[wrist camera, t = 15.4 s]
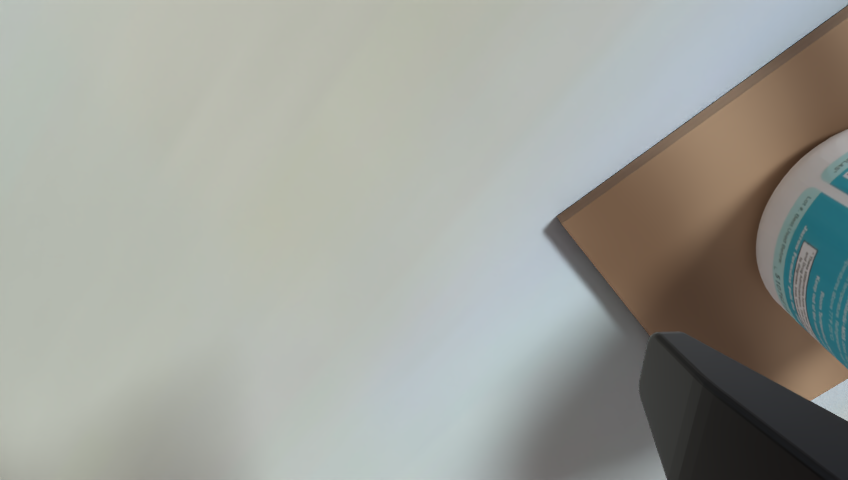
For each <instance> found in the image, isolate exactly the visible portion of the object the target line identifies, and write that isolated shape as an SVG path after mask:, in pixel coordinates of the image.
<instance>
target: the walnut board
mask: <svg viewBox="0 0 848 480" xmlns="http://www.w3.org/2000/svg"><path fill="white" fill-rule="evenodd" d="M847 129H848V6H846V7H845V8H844V9H842V10H841V11H840V12H838V13H837V14H835V15H834V16H833V17H831V18H830V19H828V20H827V21H826V22H824V23H823V24H822V25H820V26H819V27H817V28H816V29H815V30H813V31H812V32H811V33H809V34H808V35H806V36H805V37H804V38H802V39H801V40H800V41H798V42H797V43H795V44H794V45H793V46H791V47H790V48H788V49H787V50H786V51H784V52H783V53H782V54H780V55H779V56H777V57H776V58H775V59H773V60H772V61H771V62H769V63H768V64H766V65H765V66H764V67H762V68H761V69H759V70H758V71H757V72H755V73H754V74H753V75H751V76H750V77H748V78H747V79H746V80H744V81H743V82H742V83H740V84H739V85H737V86H736V87H735V88H733V89H732V90H730V91H729V92H728V93H726V94H725V95H724V96H722V97H721V98H719V99H718V100H717V101H715V102H714V103H713V104H711V105H710V106H708V107H707V108H706V109H704V110H703V111H701V112H700V113H699V114H697V115H696V116H695V117H693V118H692V119H690V120H689V121H688V122H686V123H685V124H684V125H682V126H681V127H679V128H678V129H677V130H675V131H674V132H673V133H671V134H670V135H668V136H667V137H666V138H664V139H663V140H661V141H660V142H659V143H657V144H656V145H655V146H653V147H652V148H650V149H649V150H648V151H646V152H645V153H644V154H642V155H641V156H639V157H638V158H637V159H635V160H634V161H632V162H631V163H630V164H628V165H627V166H626V167H624V168H623V169H621V170H620V171H619V172H617V173H616V174H615V175H613V176H612V177H610V178H609V179H608V180H606V181H605V182H603V183H602V184H601V185H599V186H598V187H597V188H595V189H594V190H592V191H591V192H590V193H588V194H587V195H586V196H584V197H583V198H581V199H580V200H579V201H577V202H576V203H574V204H573V205H572V206H570V207H569V208H568V209H566V210H565V211H563V212H562V213H561V214H559V215H558V216H557V218H558V219H559V221H560V223H561V224H562V225H563V227H564V228H565V229H566V230H567V232H568V233H569V234H570V236H571V237H572V238H573V239H574V241H575V242H576V243H577V244H578V246H579V247H580V248H581V249H582V251H583V252H584V253H585V255H586V256H587V257H588V258H589V260H590V261H591V262H592V263H593V265H594V266H595V267H596V268H597V270H598V271H599V272H600V273H601V275H602V276H603V277H604V279H605V280H606V281H607V282H608V284H609V285H610V286H611V287H612V289H613V290H614V291H615V292H616V294H617V295H618V296H619V298H620V299H621V300H622V301H623V303H624V304H625V305H626V306H627V308H628V309H629V310H630V311H631V313H632V314H633V315H634V317H635V318H636V319H637V320H638V322H639V323H640V324H641V325H642V327H643V328H644V329H645V330H646V332H647V333H648V334H649V336H651V335H652V334H653V333H655V332H676V331H679V332H684V333H686V334H688V335H689V336H691V337H693V338H695V339H697V340H699V341H701V342H702V343H704V344H706V345H708V346H710V347H712V348H713V349H715V350H717V351H719V352H721V353H723V354H724V355H726V356H728V357H730V358H732V359H734V360H736V361H737V362H739V363H741V364H743V365H745V366H747V367H748V368H750V369H752V370H754V371H756V372H758V373H759V374H761V375H763V376H765V377H767V378H769V379H770V380H772V381H774V382H776V383H778V384H780V385H782V386H783V387H785V388H787V389H789V390H791V391H793V392H794V393H796V394H798V395H800V396H802V397H804V398H806V399H807V400H809V401H811V400H813V399H814V398H816V397H818V396H819V395H821V394H823V393H824V392H826V391H828V390H829V389H831V388H833V387H834V386H836V385H838V384H839V383H841V382H843V381H845V380H846V379H848V369H847V368H846V367H845V366H844V365H843V364H842V363H841V362H839V361H838V360H837V359H836V358H835V357H834V356H833V355H832V354H831V353H830V352H829V351H828V350H826V349H825V348H824V347H823V346H822V345H821V344H820V343H819V342H818V341H817V340H816V339H815V338H814V337H812V336H811V334H810V333H808V332H807V331H806V330H805V329H804V328H803V327H802V326H801V325H800V324H799V323H797V322H796V321H795V320H794V318H793V317H792V316H791V315H790V314H789V313H787V312H786V311H785V310H784V309H783V308H782V307H781V306H780V305H779V304H778V303H777V302H776V301H775V300H774V299H773V297H772V296H771V295H770V293H769V292H768V290H767V289H766V287H765V285H764V283H763V280H762V278H761V275H760V272H759V269H758V265H757V258H756V239H757V232H758V228H759V223H760V220H761V217H762V214H763V212H764V209H765V207H766V205H767V203H768V201H769V199H770V197H771V195H772V194H773V192H774V190H775V189H776V187H777V186H778V184H779V183H780V182H781V180H782V179H783V177H784V176H785V175H786V174H787V173H788V172H789V170H790V169H791V168H792V167H793V166H794V165H795V164H796V163H797V162H798V161H799V160H800V159H801V158H802V157H804V156H805V155H806V154H807V153H808V152H810V151H811V150H812V149H814V148H815V147H816V146H818V145H819V144H821V143H822V142H824V141H826V140H827V139H829V138H830V137H832V136H834V135H836V134H838V133H840V132H842V131H845V130H847Z"/></svg>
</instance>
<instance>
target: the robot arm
mask: <svg viewBox="0 0 848 480" xmlns="http://www.w3.org/2000/svg"><path fill="white" fill-rule="evenodd" d="M639 392H640V398H641V401H642V404H643V407H644V410H645V413H646V416H647V420H648V423H649V426H650V429H651V432H652V435H653V438H654V441H655V444H656V447H657V450H658V453H659V456H660V459H661V462H662V465H663V468H664V472H665V475H666V478H667V480H848V421H846V420H844V419H842V418H841V417H839V416H837V415H835V414H833V413H831V412H829V411H828V410H826V409H824V408H822V407H820V406H818V405H817V404H815V403H813V402H811V401H809V400H807V399H806V398H804V397H802V396H800V395H798V394H796V393H794V392H793V391H791V390H789V389H787V388H785V387H783V386H782V385H780V384H778V383H776V382H774V381H772V380H770V379H769V378H767V377H765V376H763V375H761V374H759V373H758V372H756V371H754V370H752V369H750V368H748V367H747V366H745V365H743V364H741V363H739V362H737V361H736V360H734V359H732V358H730V357H728V356H726V355H724V354H723V353H721V352H719V351H717V350H715V349H713V348H712V347H710V346H708V345H706V344H704V343H702V342H701V341H699V340H697V339H695V338H693V337H691V336H689V335H688V334H686V333H684V332H679V331H676V332H655V333H653V334H652V335H651V336H650V338H649V340H648V342H647V347H646V352H645V356H644V361H643V366H642V371H641V375H640V381H639Z"/></svg>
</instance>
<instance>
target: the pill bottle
mask: <svg viewBox="0 0 848 480" xmlns="http://www.w3.org/2000/svg"><path fill="white" fill-rule="evenodd" d="M756 258H757V265H758V269H759V272H760V275H761V278H762V280H763V283H764V285H765V287H766V289H767V290H768V292H769V293H770V295H771V296H772V297H773V299H774V300H775V301H776V302H777V303H778V304H779V305H780V306H781V307H782V308H783V309H784V310H785V311H786V312H787V313H789V314H790V315H791V316H792V317H793V318H794V320H795V321H796V322H797V323H799V324H800V325H801V326H802V327H803V328H804V329H805V330H806V331H807V332H808V333H810V334H811V336H812V337H814V338H815V339H816V340H817V341H818V342H819V343H820V344H821V345H822V346H823V347H824V348H825V349H826V350H828V351H829V352H830V353H831V354H832V355H833V356H834V357H835V358H836V359H837V360H838V361H839V362H841V363H842V364H843V365H844V366H845V367H846V368H847V369H848V129H847V130H845V131H842V132H840V133H838V134H836V135H834V136H832V137H830V138H829V139H827V140H826V141H824V142H822V143H821V144H819V145H818V146H816V147H815V148H814V149H812V150H811V151H810V152H808V153H807V154H806V155H805V156H804V157H802V158H801V159H800V160H799V161H798V162H797V163H796V164H795V165H794V166H793V167H792V168H791V169H790V170H789V172H788V173H787V174H786V175H785V176H784V177H783V179H782V180H781V182H780V183H779V184H778V186H777V187H776V189H775V190H774V192H773V194H772V195H771V197H770V199H769V201H768V203H767V205H766V207H765V209H764V212H763V214H762V217H761V220H760V223H759V228H758V232H757V239H756Z"/></svg>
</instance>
